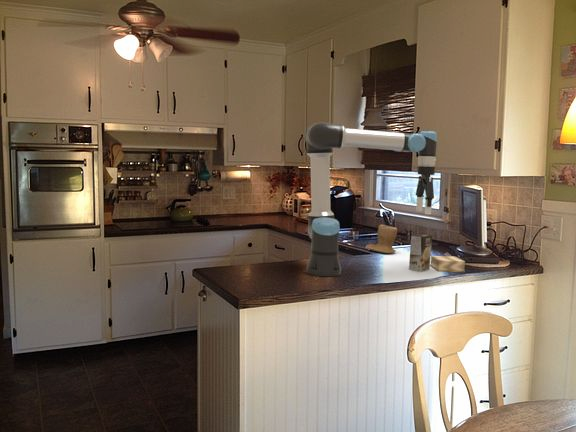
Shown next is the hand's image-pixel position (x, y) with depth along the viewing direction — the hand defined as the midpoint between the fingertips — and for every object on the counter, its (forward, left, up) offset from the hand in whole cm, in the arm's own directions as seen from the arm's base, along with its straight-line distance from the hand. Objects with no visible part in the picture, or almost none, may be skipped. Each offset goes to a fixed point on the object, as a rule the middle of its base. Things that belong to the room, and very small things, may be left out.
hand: (423, 212), depth 252 cm
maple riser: (+14, +3, -26) cm, 30 cm away
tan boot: (-8, +44, -27) cm, 52 cm away
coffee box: (0, 0, -27) cm, 27 cm away
